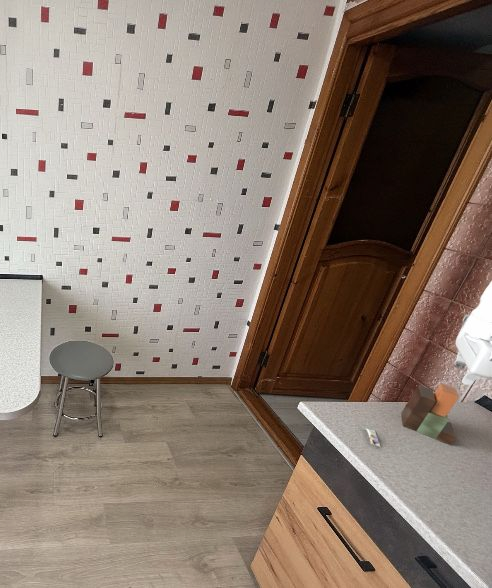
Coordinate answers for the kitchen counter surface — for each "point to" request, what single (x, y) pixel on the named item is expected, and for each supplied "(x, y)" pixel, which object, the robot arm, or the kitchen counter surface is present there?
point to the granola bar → (373, 437)
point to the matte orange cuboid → (444, 400)
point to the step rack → (426, 416)
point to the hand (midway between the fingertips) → (461, 375)
